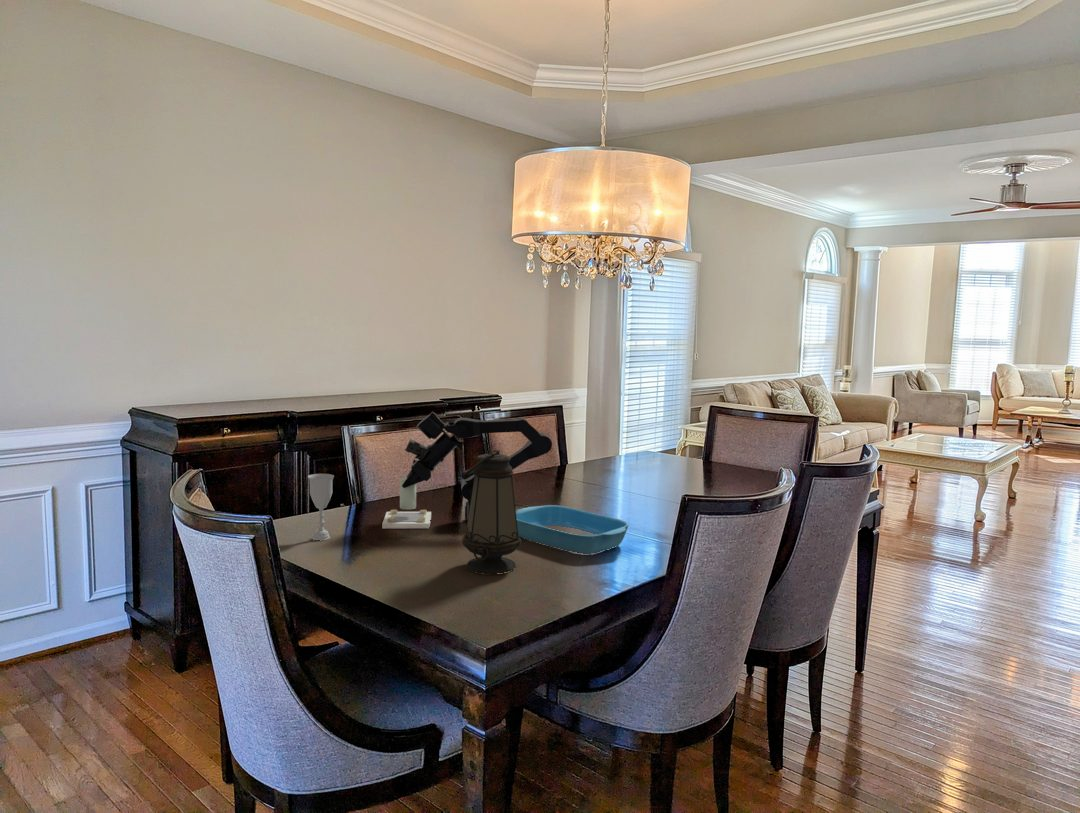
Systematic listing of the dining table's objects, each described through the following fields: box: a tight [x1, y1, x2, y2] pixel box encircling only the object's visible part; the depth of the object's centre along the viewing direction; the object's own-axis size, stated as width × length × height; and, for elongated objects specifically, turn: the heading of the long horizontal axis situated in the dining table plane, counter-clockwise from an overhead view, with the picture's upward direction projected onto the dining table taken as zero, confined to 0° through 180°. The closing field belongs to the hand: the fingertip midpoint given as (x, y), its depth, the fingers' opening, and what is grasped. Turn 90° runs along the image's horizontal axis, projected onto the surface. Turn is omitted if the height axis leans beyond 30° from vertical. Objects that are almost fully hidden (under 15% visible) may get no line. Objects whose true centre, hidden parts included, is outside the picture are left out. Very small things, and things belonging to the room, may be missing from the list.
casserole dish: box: [516, 504, 629, 554], centre depth 210 cm, size 37×22×7 cm, turn 48°
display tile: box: [381, 509, 432, 529], centre depth 225 cm, size 14×14×2 cm
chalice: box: [307, 473, 335, 542], centre depth 205 cm, size 7×7×18 cm
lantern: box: [460, 449, 522, 574], centre depth 185 cm, size 18×15×30 cm
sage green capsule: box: [399, 476, 417, 511], centre depth 225 cm, size 5×5×9 cm
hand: (403, 485), depth 224 cm, fingers closed on sage green capsule, 5 cm apart
